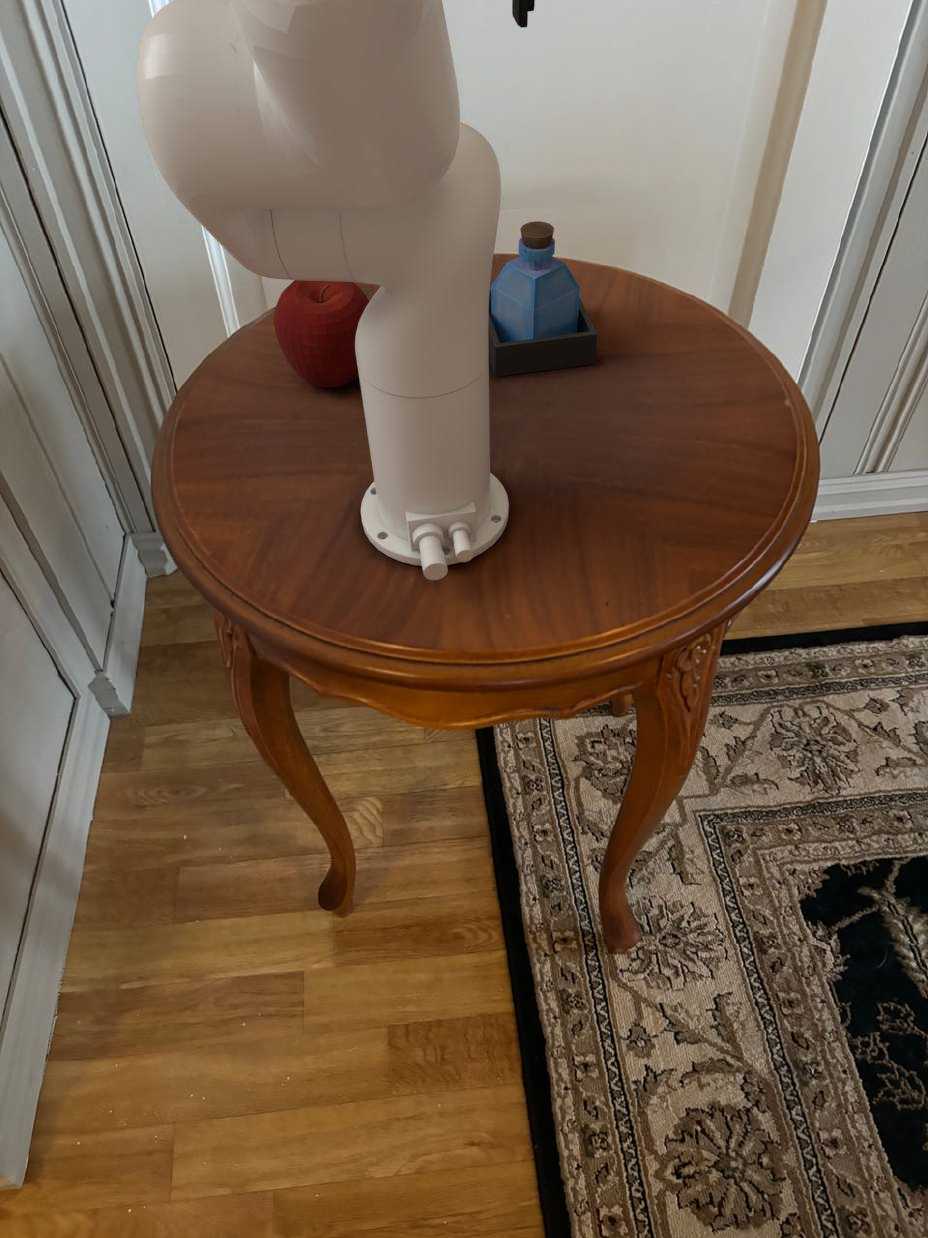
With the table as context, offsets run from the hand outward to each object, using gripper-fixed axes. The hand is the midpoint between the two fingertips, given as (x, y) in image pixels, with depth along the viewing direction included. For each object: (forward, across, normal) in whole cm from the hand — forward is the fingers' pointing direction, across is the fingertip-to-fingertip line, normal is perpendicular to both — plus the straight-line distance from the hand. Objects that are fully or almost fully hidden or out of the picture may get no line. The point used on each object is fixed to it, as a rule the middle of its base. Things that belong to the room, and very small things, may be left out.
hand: (461, 26), depth 72 cm
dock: (+28, +6, -3) cm, 29 cm away
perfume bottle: (+28, +6, -3) cm, 29 cm away
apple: (+28, -15, -5) cm, 32 cm away
